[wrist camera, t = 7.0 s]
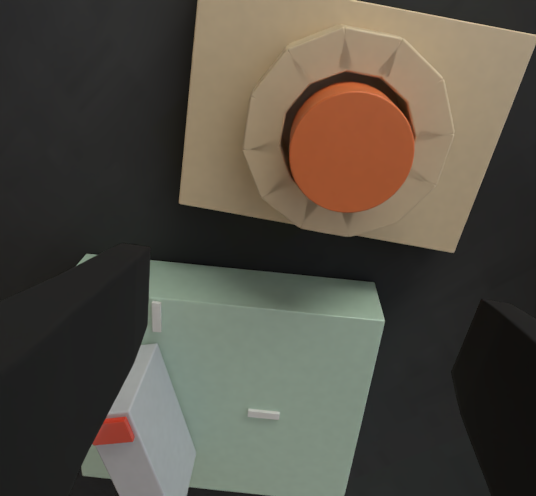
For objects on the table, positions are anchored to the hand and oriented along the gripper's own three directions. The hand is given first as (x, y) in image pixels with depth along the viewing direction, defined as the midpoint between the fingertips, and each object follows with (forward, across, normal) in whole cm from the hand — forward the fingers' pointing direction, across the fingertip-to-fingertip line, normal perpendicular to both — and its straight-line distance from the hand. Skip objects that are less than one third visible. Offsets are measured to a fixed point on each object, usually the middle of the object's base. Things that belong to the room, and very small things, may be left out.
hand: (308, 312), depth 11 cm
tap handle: (+7, +5, +11) cm, 13 cm away
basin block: (+10, +2, +10) cm, 15 cm away
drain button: (+7, -1, -2) cm, 7 cm away
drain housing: (+10, -1, -2) cm, 10 cm away
